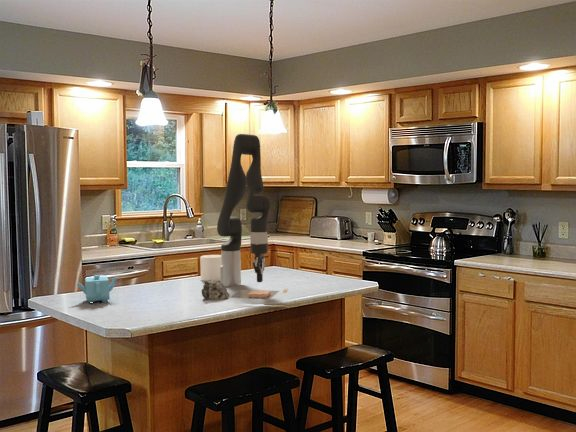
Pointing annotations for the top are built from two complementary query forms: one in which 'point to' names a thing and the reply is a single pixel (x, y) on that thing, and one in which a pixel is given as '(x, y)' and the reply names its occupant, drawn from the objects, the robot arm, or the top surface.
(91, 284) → the teapot
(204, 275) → the cup
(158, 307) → the top surface
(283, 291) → the turner
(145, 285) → the top surface
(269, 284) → the top surface
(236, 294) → the board
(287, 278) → the top surface
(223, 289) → the rock
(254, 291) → the tile
